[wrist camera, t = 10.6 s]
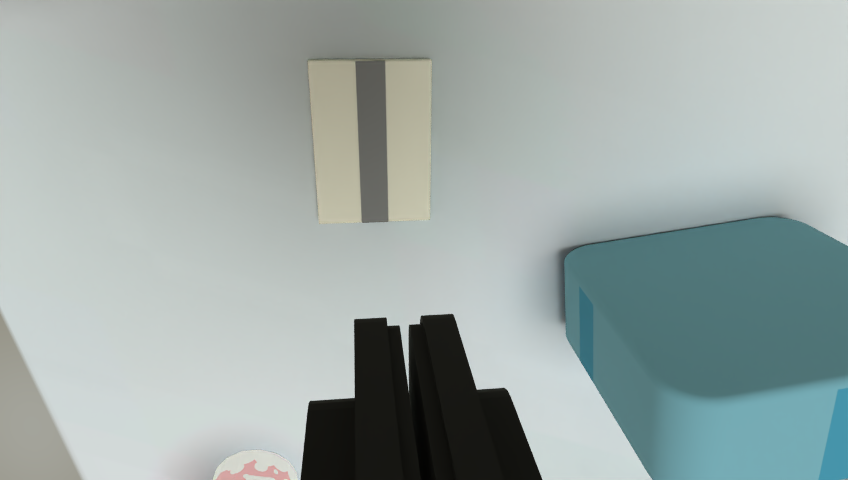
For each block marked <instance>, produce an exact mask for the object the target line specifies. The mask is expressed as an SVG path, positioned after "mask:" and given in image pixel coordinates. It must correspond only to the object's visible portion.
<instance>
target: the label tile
mask: <svg viewBox="0 0 848 480" xmlns="http://www.w3.org/2000/svg"><path fill="white" fill-rule="evenodd" d="M307 62H308V76H309V90H310V104H311V118H312V132H313V146H314V160H315V174H316V188H317V202H318V216H319V224H330V223H357V222H362V223H369V222H388V221H412V220H430V177H431V80H432V60H431V59H324V60H308V61H307Z"/></svg>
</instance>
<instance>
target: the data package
mask: <svg viewBox="0 0 848 480" xmlns="http://www.w3.org/2000/svg"><path fill="white" fill-rule="evenodd" d="M564 269H565V315H566V337H567V339H568V341H569V343H570V345H571V346H572V348H573V350H574V351H575V353H576V355H577V356H578V358H579V360H580V361H581V363H582V365H583V366H584V368H585V370H586V371H587V373H588V375H589V376H590V378H591V380H592V381H593V383H594V384H595V386H596V388H597V389H598V391H599V393H600V394H601V396H602V398H603V399H604V401H605V403H606V404H607V406H608V408H609V409H610V411H611V413H612V414H613V416H614V418H615V419H616V421H617V423H618V424H619V426H620V428H621V429H622V431H623V433H624V434H625V436H626V438H627V439H628V441H629V443H630V444H631V446H632V448H633V449H634V451H635V452H636V454H637V456H638V457H639V459H640V461H641V462H642V464H643V466H644V467H645V469H646V471H647V472H648V474H649V475H650V477H651V478H652V479H653V480H843V479H848V246H847V245H845V244H843V243H841V242H839V241H837V240H835V239H834V238H832V237H830V236H828V235H826V234H824V233H822V232H820V231H818V230H817V229H815V228H813V227H811V226H809V225H807V224H805V223H802V222H799V221H796V220H792V219H786V218H777V217H764V218H755V219H749V220H743V221H736V222H730V223H724V224H717V225H711V226H705V227H698V228H692V229H686V230H679V231H673V232H667V233H660V234H654V235H648V236H641V237H635V238H629V239H623V240H616V241H610V242H604V243H597V244H591V245H585V246H582V247H579V248H576V249H574V250H573V251H571V252H570V253H569V254H568V255H567V256H566V258H565V261H564Z"/></svg>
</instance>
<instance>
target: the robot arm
mask: <svg viewBox="0 0 848 480" xmlns="http://www.w3.org/2000/svg"><path fill="white" fill-rule="evenodd" d="M354 345H355V398H349V399H334V400H319V401H310V402H309V405H308V413H307V423H306V432H305V442H304V452H303V462H302V471H301V480H542V478H541V475H540V472H539V470H538V467H537V465H536V462H535V459H534V457H533V454H532V452H531V449H530V446H529V444H528V441H527V439H526V436H525V433H524V431H523V428H522V425H521V423H520V420H519V418H518V415H517V412H516V410H515V407H514V405H513V402H512V399H511V397H510V395H509V393H508V391H507V390H506V389H505V388H497V389H482V390H477V389H476V386H475V383H474V380H473V376H472V373H471V370H470V367H469V363H468V360H467V357H466V353H465V350H464V347H463V344H462V340H461V337H460V334H459V331H458V327H457V324H456V321H455V318H454V315H453V314H444V315H426V316H421V319H420V324H416V325H409V391H408V384H407V376H406V369H405V362H404V355H403V348H402V340H401V333H400V326H399V325H398V326H387V319H386V318H370V319H354Z"/></svg>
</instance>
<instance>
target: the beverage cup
mask: <svg viewBox="0 0 848 480" xmlns="http://www.w3.org/2000/svg"><path fill="white" fill-rule="evenodd" d="M213 480H298V479H297V472H296V470H295V469H294V467H293V466H292V465H291V463H290V462H289V461H288V460H286V459H285V458H283V457H281V456H280V455H278V454H276V453H273V452H268V451H264V450H249V451H241V452H239V453H236V454H234V455H232V456H229V457H227V458H226V459H225V460H224V461H223V462H222V463H221V464H220V465H219V466H218V467H217V469H216V472H215V474H214V477H213Z"/></svg>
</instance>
